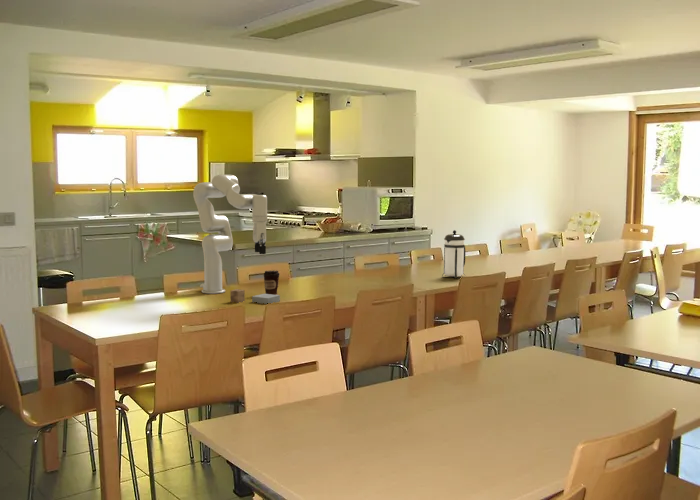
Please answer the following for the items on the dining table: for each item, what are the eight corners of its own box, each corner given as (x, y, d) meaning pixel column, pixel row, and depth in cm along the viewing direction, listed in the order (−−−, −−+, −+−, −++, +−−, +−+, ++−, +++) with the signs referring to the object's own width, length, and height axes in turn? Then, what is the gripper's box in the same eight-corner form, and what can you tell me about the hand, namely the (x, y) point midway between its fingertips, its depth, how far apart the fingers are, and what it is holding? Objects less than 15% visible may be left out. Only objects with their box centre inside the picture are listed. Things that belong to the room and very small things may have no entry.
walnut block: (230, 302, 363) (230, 290, 362) (236, 300, 367) (236, 289, 366) (238, 303, 360) (238, 291, 359) (244, 301, 364) (244, 290, 364)
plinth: (252, 302, 363) (252, 296, 362) (264, 299, 371) (264, 293, 371) (268, 304, 358) (268, 298, 357) (279, 301, 366) (279, 295, 366)
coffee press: (468, 279, 448) (469, 231, 444) (443, 278, 448) (444, 231, 445) (464, 275, 465) (465, 229, 462) (440, 275, 465) (441, 228, 462)
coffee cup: (276, 296, 380) (276, 272, 378) (261, 295, 381) (261, 271, 380) (281, 293, 388) (281, 270, 387) (266, 293, 390) (266, 269, 388)
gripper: (248, 218, 369) (249, 251, 371) (256, 220, 353) (256, 255, 355) (263, 218, 372) (263, 251, 373) (271, 220, 355) (271, 254, 357)
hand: (260, 252), depth 364 cm, fingers open, 9 cm apart
